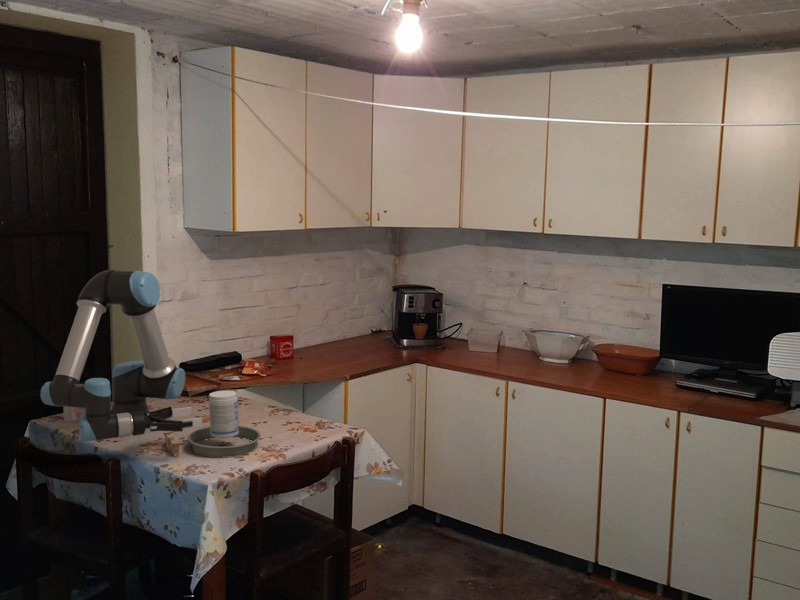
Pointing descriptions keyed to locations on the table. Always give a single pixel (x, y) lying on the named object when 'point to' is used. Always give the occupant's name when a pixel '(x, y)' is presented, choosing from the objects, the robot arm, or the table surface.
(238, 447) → the cake pan
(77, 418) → the gable top carton
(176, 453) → the stop rail
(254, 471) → the table surface
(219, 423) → the supplement tub
